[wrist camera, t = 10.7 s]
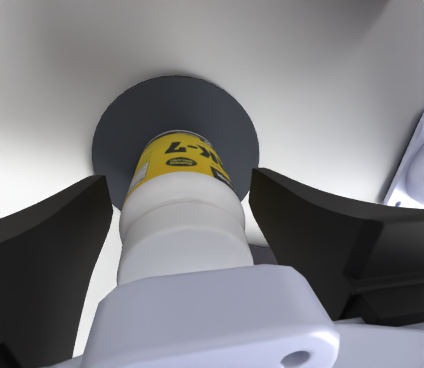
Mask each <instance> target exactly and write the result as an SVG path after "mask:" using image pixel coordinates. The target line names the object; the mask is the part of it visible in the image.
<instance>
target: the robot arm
mask: <svg viewBox="0 0 424 368" xmlns="http://www.w3.org/2000/svg"><path fill="white" fill-rule="evenodd" d="M249 205H250V208H251V211H252V213H253V216H254V218H255V220H256V222H257V224H258V226H259V228H260V230H261V231H262V233H263V235H264V237H265V239H266V240H267V242H268V244H269V246H270V248H271V250H272V252H273V254H274V256H275V258H276V261H277V263H278V265H269V264H261V265H252V266H243V267H234V268H225V269H216V270H207V271H198V272H189V273H180V274H171V275H162V276H153V277H146V278H143V279H139V280H136V281H133V282H129V283H126V284H123V285H120V286H117V287H116V288H115V289H114V290H113V291H111V292H110V293H109V294H108V295H107V296H106V297H105V298H104V299H103V300H102V301H100V302H99V303H98V307H97V310H96V313H95V317H94V320H93V323H92V327H91V330H90V333H89V337H88V340H87V343H86V347H85V350H84V353H83V355H80V356H77V357H75V358H72V356H73V350H74V346H75V341H76V336H77V331H78V327H79V322H80V318H81V314H82V310H83V305H84V301H85V297H86V293H87V290H88V286H89V282H90V279H91V275H92V272H93V269H94V267H95V264H96V262H97V259H98V257H99V254H100V252H101V249H102V247H103V244H104V242H105V239H106V236H107V234H108V231H109V229H110V225H111V220H112V215H113V207H112V203H111V198H110V194H109V189H108V185H107V180H106V176H105V175H93V176H89V177H87V178H84V179H82V180H80V181H79V182H77V183H75V184H73V185H71V186H69V187H68V188H66V189H64V190H62V191H60V192H58V193H57V194H55V195H53V196H51V197H49V198H47V199H45V200H43V201H41V202H39V203H37V204H34V205H32V206H30V207H28V208H26V209H23V210H21V211H18V212H16V213H13V214H11V215H9V216H6V217H3V218H0V368H424V209H416V208H413V207H424V113H423V115H422V117H421V119H420V121H419V124H418V126H417V128H416V130H415V132H414V135H413V137H412V139H411V141H410V144H409V146H408V148H407V150H406V153H405V155H404V157H403V159H402V161H401V164H400V166H399V168H398V170H397V173H396V175H395V177H394V179H393V182H392V184H391V186H390V188H389V190H388V193H387V195H386V197H385V199H384V202H383V205H382V204H375V203H369V202H364V201H359V200H354V199H350V198H346V197H342V196H338V195H334V194H331V193H328V192H324V191H321V190H318V189H315V188H312V187H310V186H307V185H305V184H302V183H300V182H297V181H295V180H293V179H290V178H288V177H286V176H284V175H282V174H279V173H277V172H275V171H272V170H270V169H267V168H252V176H251V184H250V193H249Z"/></svg>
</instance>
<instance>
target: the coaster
mask: <svg viewBox="0 0 424 368" xmlns="http://www.w3.org/2000/svg"><path fill="white" fill-rule="evenodd" d="M172 130H185V131H190V132H193V133H196V134H198V135H200V136H202V137H203V138H205V139H206V140H207V141H208V142H209V143H210V144H211V145H212V146H213V148H214V149H215V151H216V153H217V155H218V157H219V159H220V161H221V163H222V165H223V167H224V169H225V171H226V173H227V175H228V177H229V179H230V181H231V183H232V185H233V187H234V189H235V191H236V193H237V195H238V197H239V199H240V202H241V201H242V200H243V199H244V197H245V196H246V195H247V193H248V191H249V190H250V184H251V176H252V168H258V164H259V143H258V138H257V134H256V131H255V128H254V126H253V123H252V121H251V120H250V118H249V116H248V114H247V113H246V111H245V110H244V109H243V107H242V106H241V105H240V104H239V103H238V102H237V101H236V100H235V99H234V98H233V97H232V96H231V95H229V94H228V93H227V92H225V91H224V90H222V89H221V88H219V87H217V86H215V85H213V84H211V83H209V82H206V81H204V80H201V79H197V78H192V77H187V76H163V77H158V78H153V79H149V80H147V81H144V82H141V83H139V84H137V85H135V86H133V87H131V88H130V89H128V90H126V91H125V92H124V93H122V94H121V95H120V96H118V97H117V98H116V99H115V100H114V101H113V102H112V103H111V104H110V106H109V107H108V108H107V110H106V111H105V112H104V114H103V115H102V117H101V119H100V121H99V123H98V125H97V128H96V131H95V134H94V138H93V145H92V161H93V167H94V171H95V174H96V175H105V176H106V180H107V185H108V189H109V194H110V198H111V202H112V204H113V205H114V206H115V207H117V208H118V209H119V210H120V211H121V210H122V207H123V204H124V202H125V199H126V196H127V193H128V191H129V188H130V185H131V182H132V179H133V176H134V174H135V171H136V168H137V165H138V163H139V160H140V157H141V154H142V152H143V150H144V148H145V147H146V145H147V144H148V143H149V142H150V141H151V140H152V139H154V138H155V137H156V136H158V135H160V134H162V133H164V132H167V131H172Z"/></svg>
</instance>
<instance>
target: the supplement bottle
mask: <svg viewBox="0 0 424 368" xmlns="http://www.w3.org/2000/svg"><path fill="white" fill-rule="evenodd" d="M244 230H245V215H244V211H243V207H242V204H241V202H240V199H239V197H238V195H237V193H236V191H235V189H234V187H233V185H232V183H231V181H230V179H229V177H228V175H227V173H226V171H225V169H224V167H223V165H222V163H221V161H220V159H219V157H218V155H217V153H216V151H215V149H214V148H213V146H212V145H211V144H210V143H209V142H208V141H207V140H206V139H205V138H203V137H202V136H200V135H198V134H196V133H193V132H190V131H185V130H172V131H167V132H164V133H162V134H160V135H158V136H156V137H155V138H154V139H152V140H151V141H150V142H149V143H148V144H147V145H146V147H145V148H144V150H143V152H142V154H141V157H140V160H139V163H138V165H137V168H136V171H135V174H134V176H133V179H132V182H131V185H130V188H129V191H128V193H127V196H126V199H125V202H124V204H123V207H122V210H121V215H120V221H119V232H120V238H121V241H122V244H123V246H122V252H121V257H120V262H119V266H118V271H117V286H120V285H123V284H126V283H129V282H133V281H136V280H139V279H143V278H146V277H153V276H162V275H171V274H180V273H189V272H198V271H207V270H216V269H225V268H234V267H243V266H252V265H254V264H253V258H252V255H251V252H250V249H249V246H248V243H247V239H246V235H245V232H244Z"/></svg>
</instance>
